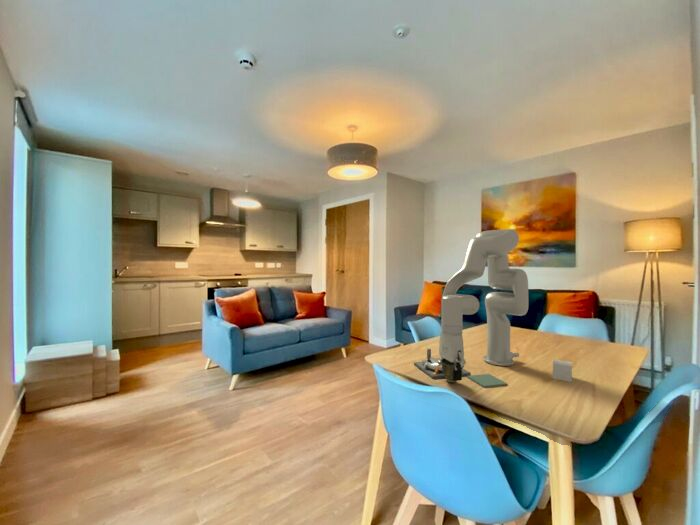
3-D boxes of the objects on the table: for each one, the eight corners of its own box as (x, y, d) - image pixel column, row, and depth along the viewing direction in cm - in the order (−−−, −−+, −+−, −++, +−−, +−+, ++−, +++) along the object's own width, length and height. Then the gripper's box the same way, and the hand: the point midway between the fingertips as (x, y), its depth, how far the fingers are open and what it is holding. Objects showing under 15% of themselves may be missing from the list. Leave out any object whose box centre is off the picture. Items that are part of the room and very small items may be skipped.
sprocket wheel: (427, 358, 137) (427, 344, 137) (463, 364, 130) (463, 349, 130) (417, 368, 124) (417, 353, 124) (456, 375, 116) (456, 359, 116)
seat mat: (488, 375, 121) (488, 373, 121) (507, 385, 111) (507, 383, 111) (466, 377, 118) (466, 375, 118) (483, 387, 109) (483, 385, 109)
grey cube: (552, 378, 118) (552, 363, 118) (553, 374, 123) (553, 359, 123) (571, 382, 114) (571, 366, 114) (571, 377, 119) (571, 362, 119)
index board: (447, 361, 137) (447, 359, 137) (470, 375, 121) (470, 371, 121) (413, 364, 133) (413, 361, 133) (432, 378, 117) (432, 375, 117)
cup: (463, 386, 109) (463, 364, 109) (442, 385, 111) (442, 363, 111) (460, 379, 116) (460, 358, 116) (440, 377, 118) (440, 357, 118)
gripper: (431, 324, 121) (431, 369, 121) (456, 334, 104) (455, 386, 104) (448, 324, 123) (448, 367, 123) (475, 333, 106) (475, 384, 106)
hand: (451, 376), depth 113 cm, fingers closed on cup, 6 cm apart
